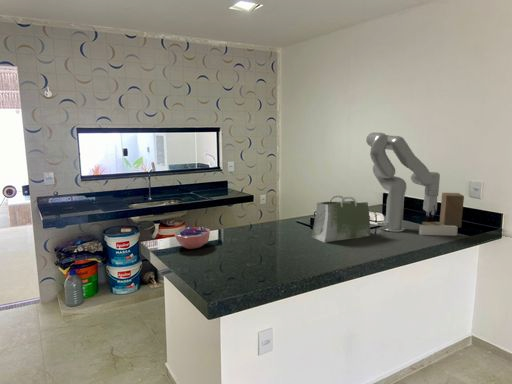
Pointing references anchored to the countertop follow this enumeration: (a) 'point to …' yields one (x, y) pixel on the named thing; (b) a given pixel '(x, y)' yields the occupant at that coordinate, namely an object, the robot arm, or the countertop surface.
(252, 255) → the countertop surface
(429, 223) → the oak block
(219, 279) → the countertop surface
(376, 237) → the countertop surface
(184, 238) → the cell model
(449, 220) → the wooden block
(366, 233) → the grocery bag
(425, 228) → the cream board
